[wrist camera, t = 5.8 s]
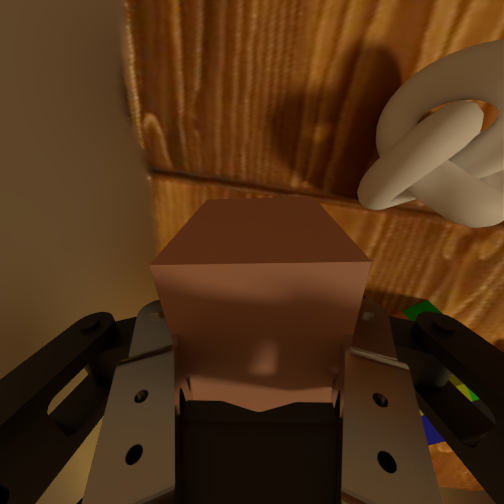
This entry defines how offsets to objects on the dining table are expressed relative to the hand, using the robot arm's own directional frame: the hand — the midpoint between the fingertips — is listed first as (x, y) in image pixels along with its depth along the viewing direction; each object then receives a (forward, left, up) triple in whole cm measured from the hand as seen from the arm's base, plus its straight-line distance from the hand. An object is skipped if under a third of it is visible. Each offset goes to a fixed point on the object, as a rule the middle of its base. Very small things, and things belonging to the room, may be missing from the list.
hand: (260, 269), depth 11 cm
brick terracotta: (0, 0, -1) cm, 1 cm away
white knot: (-4, +15, -14) cm, 21 cm away
